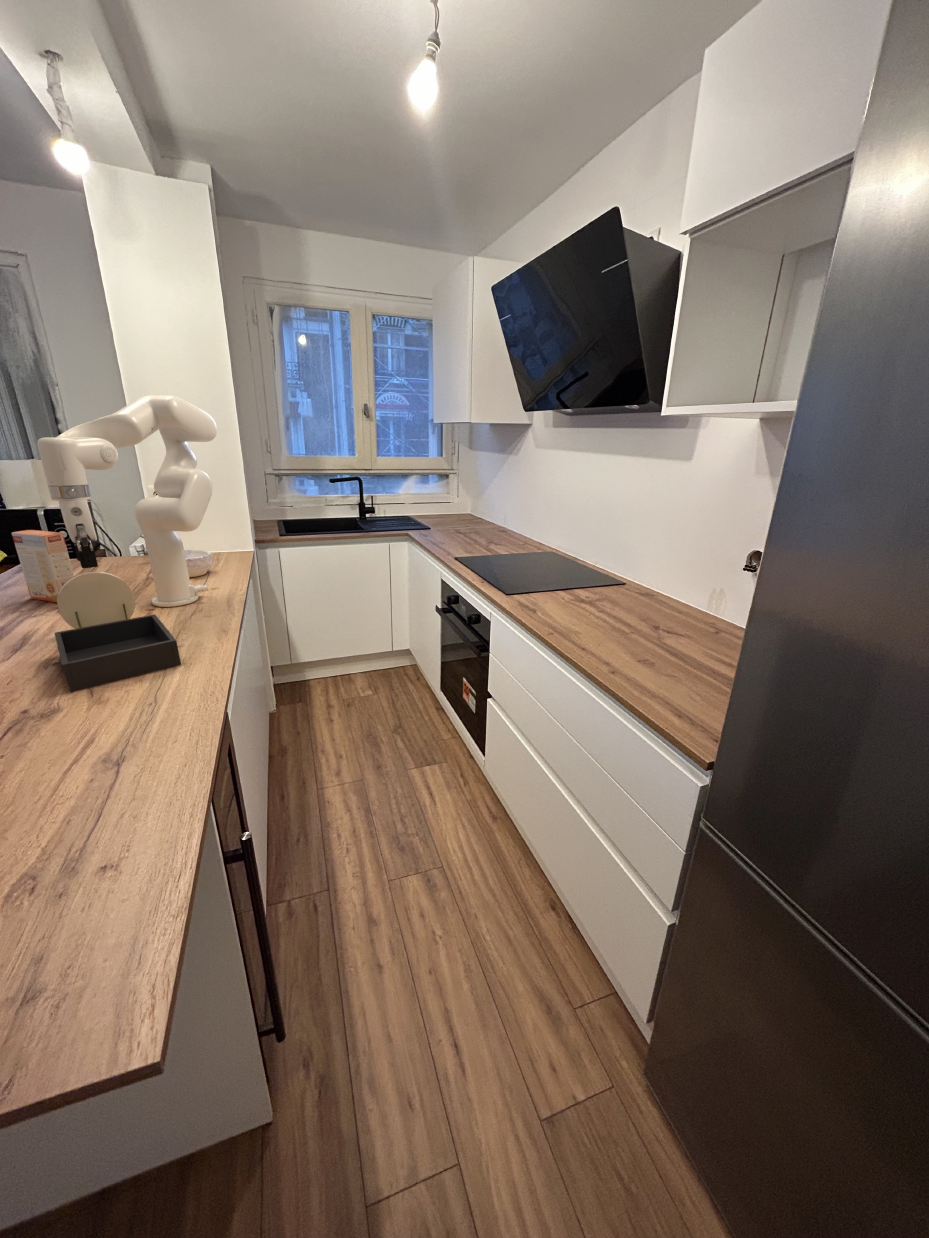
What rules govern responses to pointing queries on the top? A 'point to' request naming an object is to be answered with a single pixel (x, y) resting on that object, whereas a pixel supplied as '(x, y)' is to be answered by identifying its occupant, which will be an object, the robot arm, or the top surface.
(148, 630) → the sink basin
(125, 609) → the drying rack
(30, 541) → the cracker box
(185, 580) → the robot arm
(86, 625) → the plate
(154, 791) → the top surface
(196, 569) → the paper bowls
